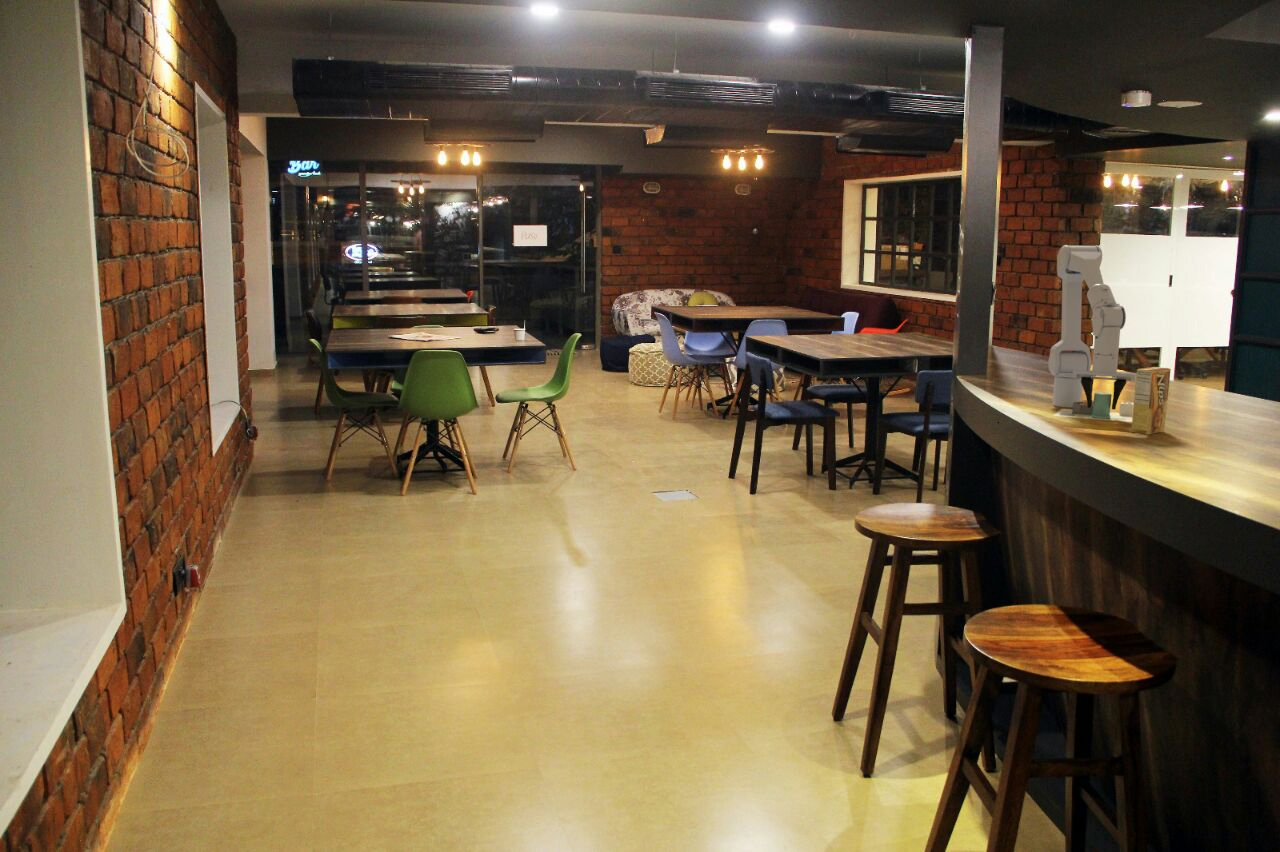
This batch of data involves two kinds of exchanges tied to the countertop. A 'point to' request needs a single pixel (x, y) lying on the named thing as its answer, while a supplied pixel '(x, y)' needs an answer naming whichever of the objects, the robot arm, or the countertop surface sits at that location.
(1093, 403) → the dome button
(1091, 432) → the countertop surface
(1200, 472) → the countertop surface
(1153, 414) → the candy box
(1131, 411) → the game board
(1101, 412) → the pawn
